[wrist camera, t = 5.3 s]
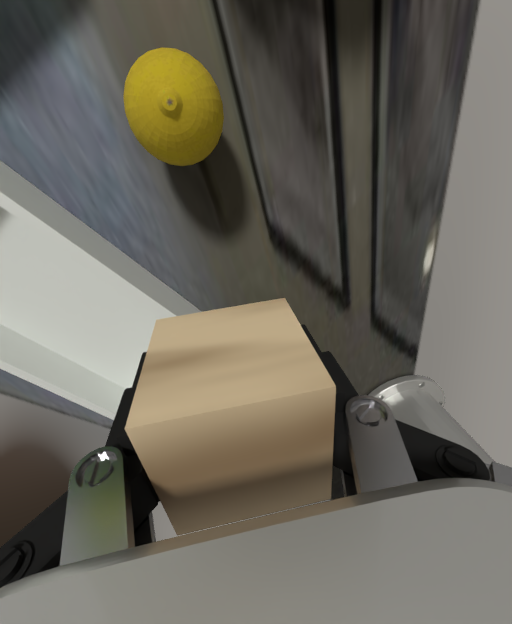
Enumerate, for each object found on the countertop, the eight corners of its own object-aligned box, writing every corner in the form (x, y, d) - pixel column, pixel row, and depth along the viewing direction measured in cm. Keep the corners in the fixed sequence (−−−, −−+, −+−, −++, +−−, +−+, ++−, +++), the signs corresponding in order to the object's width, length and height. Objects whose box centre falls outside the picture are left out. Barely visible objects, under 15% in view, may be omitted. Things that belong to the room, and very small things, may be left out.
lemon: (169, 177, 22) (152, 187, 15) (122, 95, 19) (76, 59, 12) (233, 143, 21) (247, 136, 14) (195, 54, 19) (190, -7, 12)
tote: (215, 321, 28) (216, 344, 25) (137, 397, 31) (129, 427, 28) (-30, 137, 19) (-83, 133, 15) (-109, 270, 22) (-168, 292, 18)
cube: (290, 390, 14) (330, 499, 9) (186, 411, 13) (177, 535, 9) (284, 298, 11) (336, 386, 7) (156, 319, 11) (124, 429, 6)
